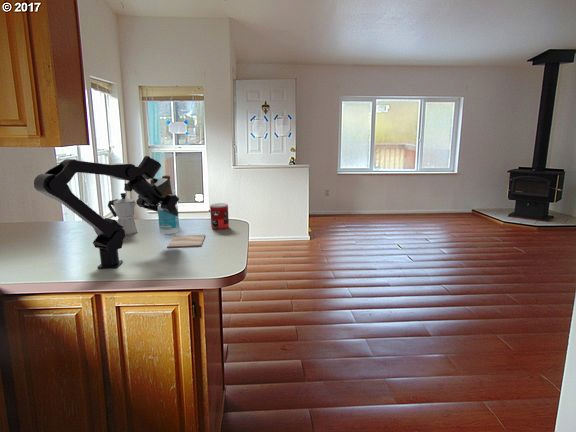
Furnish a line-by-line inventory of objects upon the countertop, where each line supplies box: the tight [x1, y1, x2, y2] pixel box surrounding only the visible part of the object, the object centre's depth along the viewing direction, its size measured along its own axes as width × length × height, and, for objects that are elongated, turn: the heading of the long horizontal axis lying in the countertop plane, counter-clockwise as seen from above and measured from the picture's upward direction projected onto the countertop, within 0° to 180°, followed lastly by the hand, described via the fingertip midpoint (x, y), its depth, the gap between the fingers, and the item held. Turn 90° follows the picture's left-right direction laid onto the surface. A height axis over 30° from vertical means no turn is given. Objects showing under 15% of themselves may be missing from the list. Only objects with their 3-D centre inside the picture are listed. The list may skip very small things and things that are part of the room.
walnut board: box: [166, 234, 206, 249], centre depth 164 cm, size 16×13×1 cm
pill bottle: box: [157, 203, 180, 235], centre depth 155 cm, size 8×7×14 cm
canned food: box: [209, 202, 230, 231], centre depth 185 cm, size 8×8×11 cm
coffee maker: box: [107, 192, 138, 236], centre depth 178 cm, size 15×9×18 cm, turn 74°
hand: (171, 213), depth 156 cm, fingers closed on pill bottle, 7 cm apart
